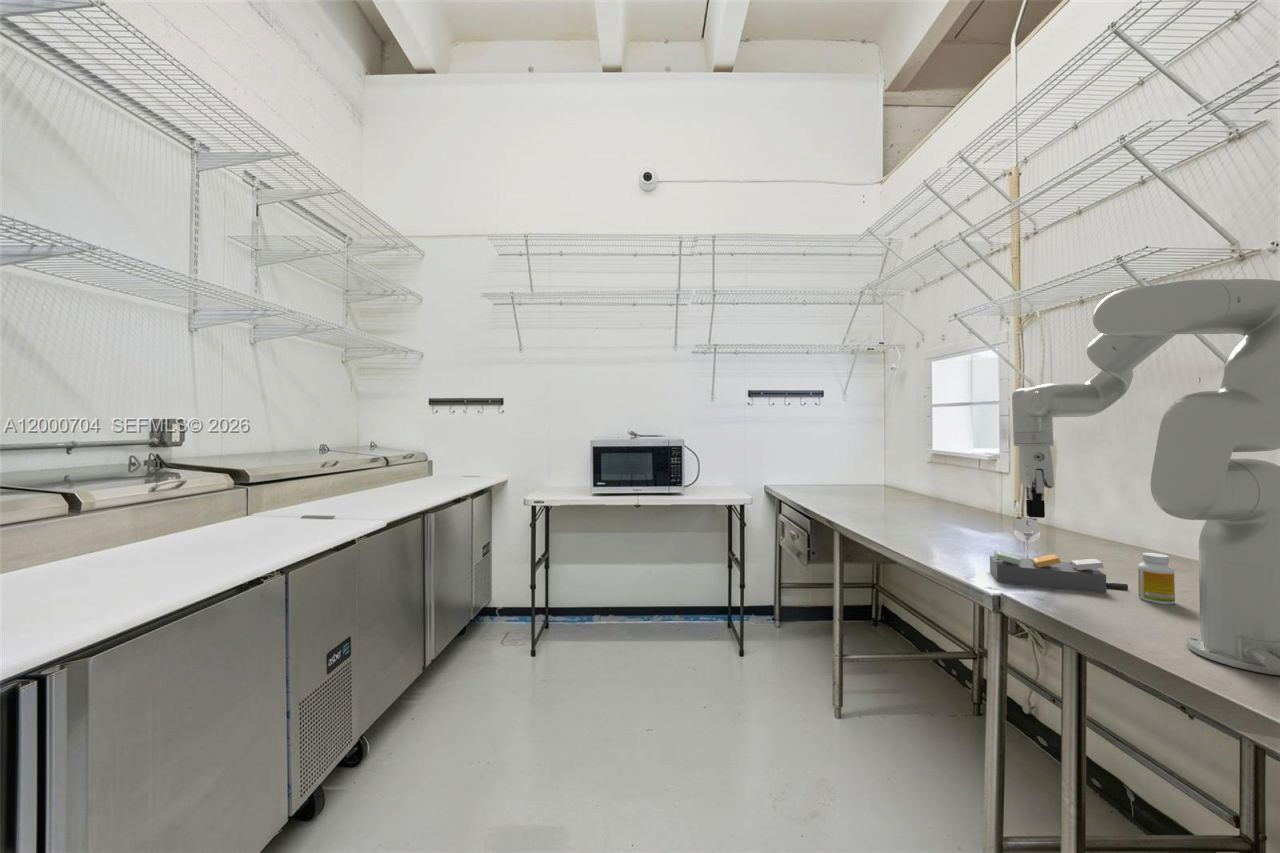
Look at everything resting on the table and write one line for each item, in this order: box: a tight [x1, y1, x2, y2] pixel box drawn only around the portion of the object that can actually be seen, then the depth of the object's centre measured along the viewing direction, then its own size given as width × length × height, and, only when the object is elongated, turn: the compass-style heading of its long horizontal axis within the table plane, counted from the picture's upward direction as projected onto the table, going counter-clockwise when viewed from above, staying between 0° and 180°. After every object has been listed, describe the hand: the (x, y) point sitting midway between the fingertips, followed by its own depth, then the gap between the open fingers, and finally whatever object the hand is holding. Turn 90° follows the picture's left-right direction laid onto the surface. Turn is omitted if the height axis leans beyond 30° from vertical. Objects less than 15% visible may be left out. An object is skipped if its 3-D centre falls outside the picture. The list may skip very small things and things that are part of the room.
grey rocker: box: [1070, 558, 1104, 570], centre depth 115 cm, size 4×5×1 cm
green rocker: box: [993, 550, 1021, 565], centre depth 122 cm, size 4×5×1 cm
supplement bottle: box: [1137, 552, 1176, 605], centre depth 106 cm, size 5×5×10 cm
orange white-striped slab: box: [1031, 553, 1062, 568], centre depth 119 cm, size 4×5×1 cm
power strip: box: [989, 555, 1129, 594], centre depth 119 cm, size 10×25×4 cm, turn 63°
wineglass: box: [1013, 516, 1041, 559], centre depth 137 cm, size 6×6×12 cm
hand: (1035, 516), depth 119 cm, fingers closed
